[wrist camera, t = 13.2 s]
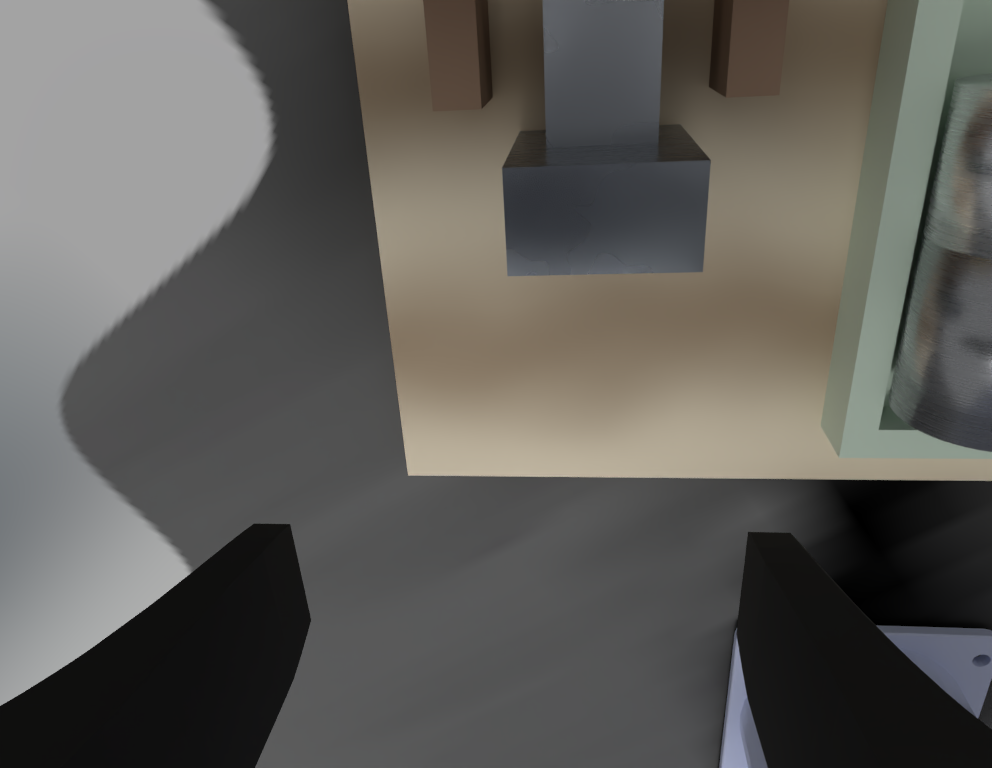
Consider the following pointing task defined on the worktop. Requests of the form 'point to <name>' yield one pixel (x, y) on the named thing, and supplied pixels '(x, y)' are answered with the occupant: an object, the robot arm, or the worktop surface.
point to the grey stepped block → (604, 154)
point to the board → (624, 297)
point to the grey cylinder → (953, 286)
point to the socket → (733, 67)
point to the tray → (897, 220)
